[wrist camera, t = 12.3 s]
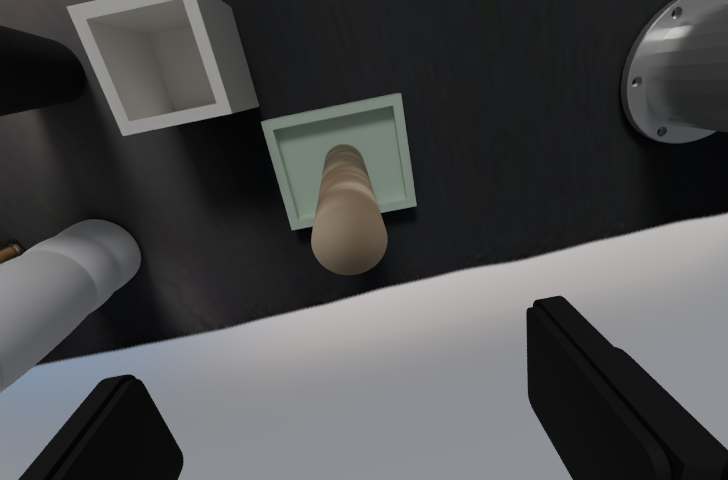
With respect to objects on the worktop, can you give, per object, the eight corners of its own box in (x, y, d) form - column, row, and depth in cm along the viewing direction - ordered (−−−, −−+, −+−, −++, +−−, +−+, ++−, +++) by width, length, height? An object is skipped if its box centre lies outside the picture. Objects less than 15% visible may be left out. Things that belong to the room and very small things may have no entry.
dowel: (359, 140, 33) (380, 198, 17) (366, 178, 35) (392, 267, 18) (320, 148, 33) (302, 213, 17) (329, 186, 35) (321, 281, 18)
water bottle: (54, 228, 36) (-464, 485, 13) (120, 207, 35) (-296, 436, 12) (95, 288, 39) (-273, 588, 16) (157, 270, 38) (-129, 552, 15)
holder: (231, 7, 30) (190, -21, 22) (259, 106, 32) (232, 113, 25) (139, 27, 30) (66, 6, 22) (176, 123, 33) (122, 136, 25)
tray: (397, 93, 33) (400, 93, 31) (413, 199, 36) (416, 206, 35) (265, 120, 33) (260, 122, 31) (294, 223, 37) (292, 230, 35)
